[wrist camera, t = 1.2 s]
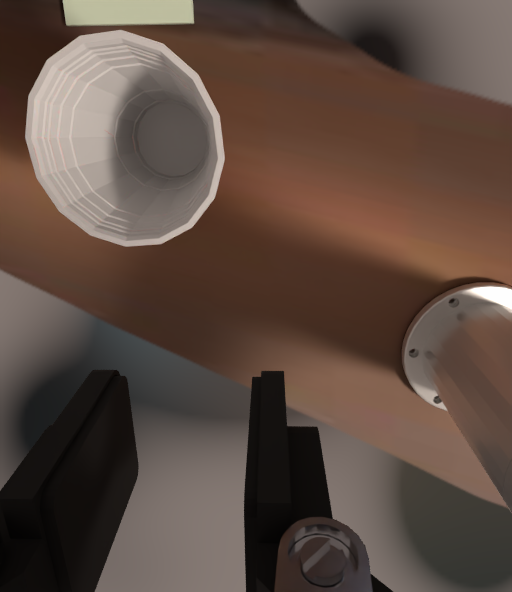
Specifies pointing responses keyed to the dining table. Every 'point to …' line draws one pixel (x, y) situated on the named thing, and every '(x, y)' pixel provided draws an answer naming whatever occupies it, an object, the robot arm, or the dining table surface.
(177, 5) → the sage pad
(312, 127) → the dining table surface
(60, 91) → the plastic cup
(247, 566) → the robot arm
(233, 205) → the dining table surface
